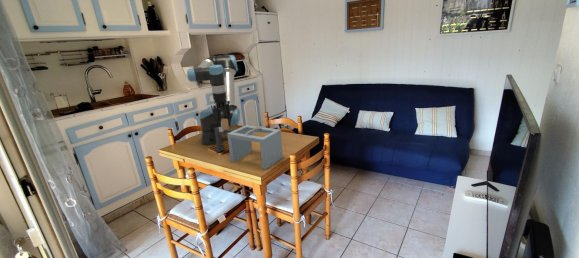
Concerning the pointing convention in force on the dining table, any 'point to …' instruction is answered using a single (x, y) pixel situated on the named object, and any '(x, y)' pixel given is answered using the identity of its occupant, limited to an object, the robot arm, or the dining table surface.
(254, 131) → the hook bar
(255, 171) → the dining table surface
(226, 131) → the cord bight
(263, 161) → the shelf
